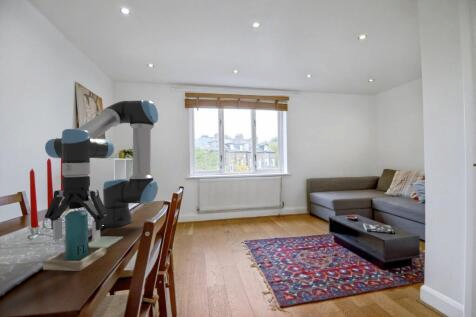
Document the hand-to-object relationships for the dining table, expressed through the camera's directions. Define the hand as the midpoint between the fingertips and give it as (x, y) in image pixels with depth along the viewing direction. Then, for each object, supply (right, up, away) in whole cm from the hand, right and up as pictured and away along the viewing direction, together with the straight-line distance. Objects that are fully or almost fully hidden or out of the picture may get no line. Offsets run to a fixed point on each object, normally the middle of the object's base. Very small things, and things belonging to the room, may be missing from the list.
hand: (76, 239), depth 73 cm
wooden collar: (0, -7, 0) cm, 7 cm away
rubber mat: (-1, -7, +16) cm, 18 cm away
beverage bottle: (0, -7, 0) cm, 7 cm away
